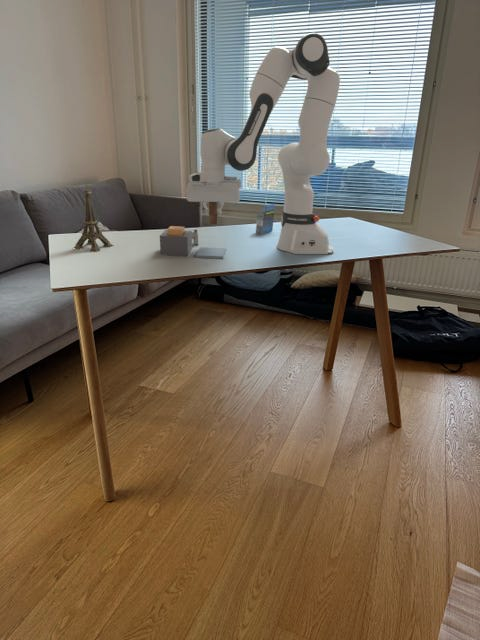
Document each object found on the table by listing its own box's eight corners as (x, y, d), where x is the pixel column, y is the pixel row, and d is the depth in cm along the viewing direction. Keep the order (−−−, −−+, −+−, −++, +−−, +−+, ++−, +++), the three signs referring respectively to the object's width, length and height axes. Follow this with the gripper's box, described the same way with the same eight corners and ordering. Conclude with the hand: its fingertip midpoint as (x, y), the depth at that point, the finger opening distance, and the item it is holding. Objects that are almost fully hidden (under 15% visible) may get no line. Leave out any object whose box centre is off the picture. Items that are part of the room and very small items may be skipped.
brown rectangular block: (217, 222, 166) (217, 201, 163) (217, 224, 164) (216, 203, 160) (210, 222, 166) (209, 201, 163) (209, 224, 164) (208, 202, 160)
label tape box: (265, 229, 201) (267, 203, 196) (273, 230, 199) (275, 204, 193) (255, 232, 194) (256, 205, 189) (262, 234, 192) (264, 206, 187)
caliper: (198, 246, 169) (198, 230, 167) (195, 246, 169) (195, 230, 166) (184, 234, 186) (184, 220, 184) (182, 234, 186) (181, 220, 183)
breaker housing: (192, 249, 163) (191, 231, 161) (187, 256, 154) (187, 237, 151) (166, 247, 164) (165, 229, 161) (160, 254, 155) (159, 235, 152)
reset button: (184, 234, 159) (184, 226, 158) (182, 237, 154) (181, 229, 153) (170, 234, 159) (170, 226, 158) (167, 237, 154) (167, 229, 153)
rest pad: (225, 250, 164) (225, 248, 164) (223, 258, 153) (223, 256, 153) (200, 248, 164) (200, 246, 164) (195, 257, 153) (195, 255, 153)
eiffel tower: (72, 248, 158) (63, 178, 148) (90, 242, 167) (83, 176, 157) (96, 252, 155) (88, 180, 145) (113, 245, 164) (107, 178, 154)
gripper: (241, 175, 160) (240, 212, 166) (187, 174, 161) (188, 211, 167) (240, 177, 154) (239, 216, 160) (184, 176, 155) (186, 214, 161)
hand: (213, 213), depth 163 cm, fingers closed on brown rectangular block, 3 cm apart
